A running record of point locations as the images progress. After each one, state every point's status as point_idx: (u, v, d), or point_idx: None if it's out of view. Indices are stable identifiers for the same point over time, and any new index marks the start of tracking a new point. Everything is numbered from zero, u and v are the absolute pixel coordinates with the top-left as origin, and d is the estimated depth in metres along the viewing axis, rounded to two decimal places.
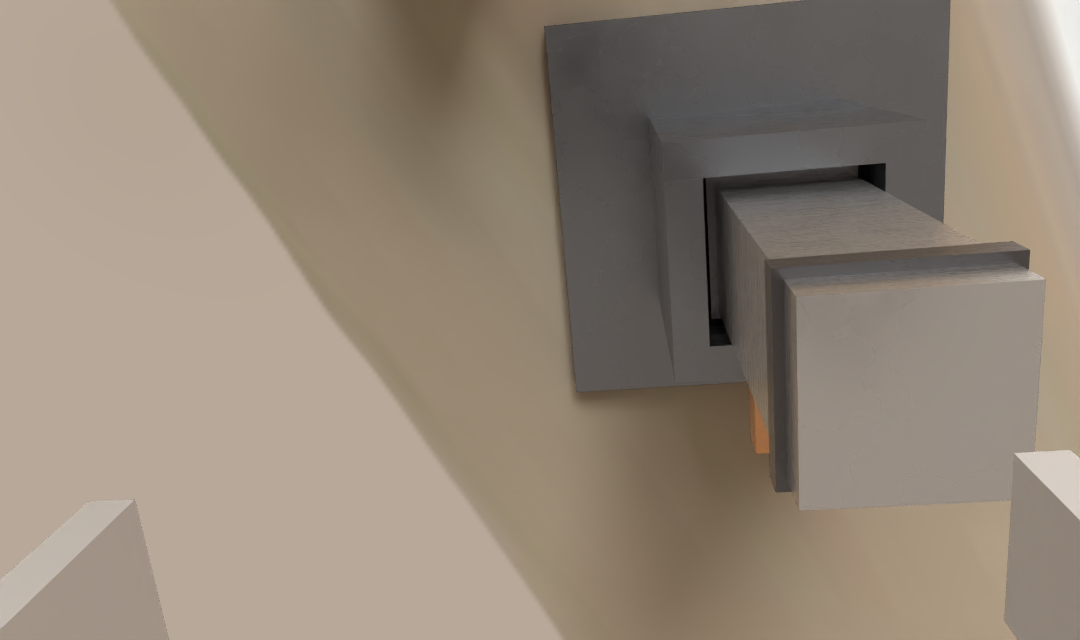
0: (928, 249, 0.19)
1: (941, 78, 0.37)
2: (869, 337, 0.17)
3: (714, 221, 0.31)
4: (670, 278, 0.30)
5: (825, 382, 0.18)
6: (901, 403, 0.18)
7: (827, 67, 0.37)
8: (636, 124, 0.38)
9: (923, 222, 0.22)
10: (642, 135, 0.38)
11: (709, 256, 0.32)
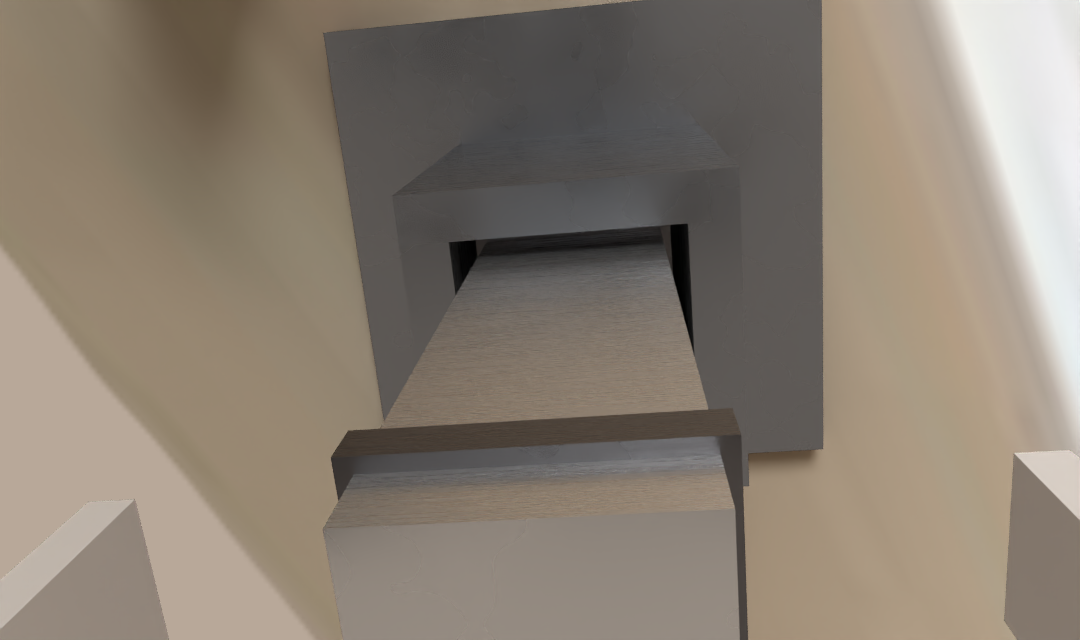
0: (596, 421, 0.12)
1: (813, 97, 0.30)
2: (452, 594, 0.10)
3: None
4: None
5: None
6: None
7: (673, 83, 0.30)
8: (443, 153, 0.31)
9: (666, 339, 0.15)
10: None
11: None
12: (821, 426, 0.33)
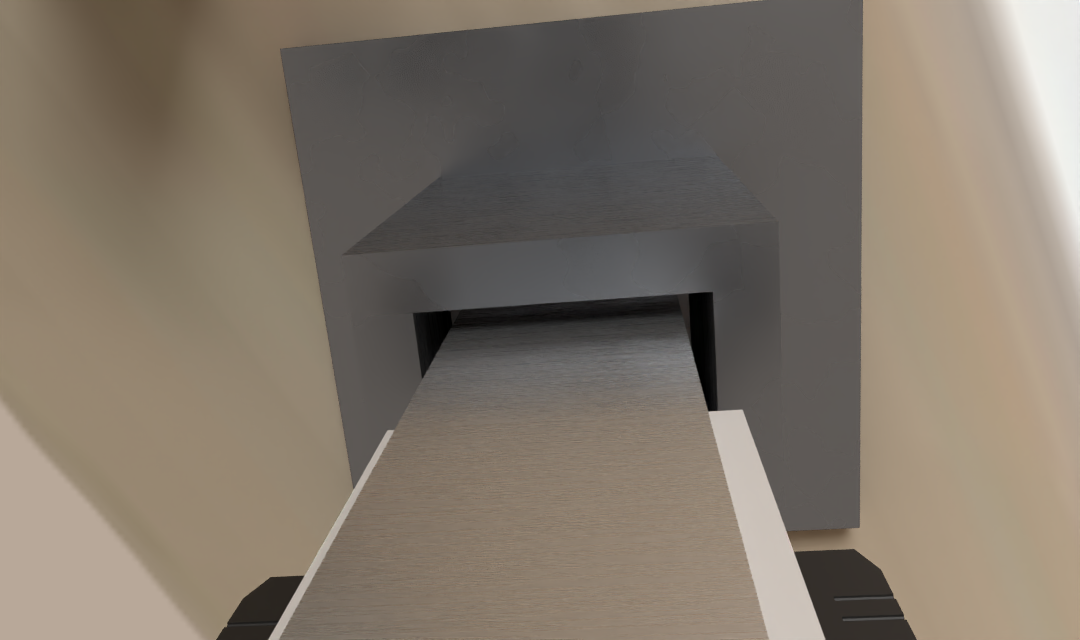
0: None
1: (852, 125, 0.25)
2: None
3: None
4: None
5: None
6: None
7: (688, 108, 0.26)
8: (420, 188, 0.27)
9: (694, 486, 0.11)
10: None
11: None
12: (857, 502, 0.29)
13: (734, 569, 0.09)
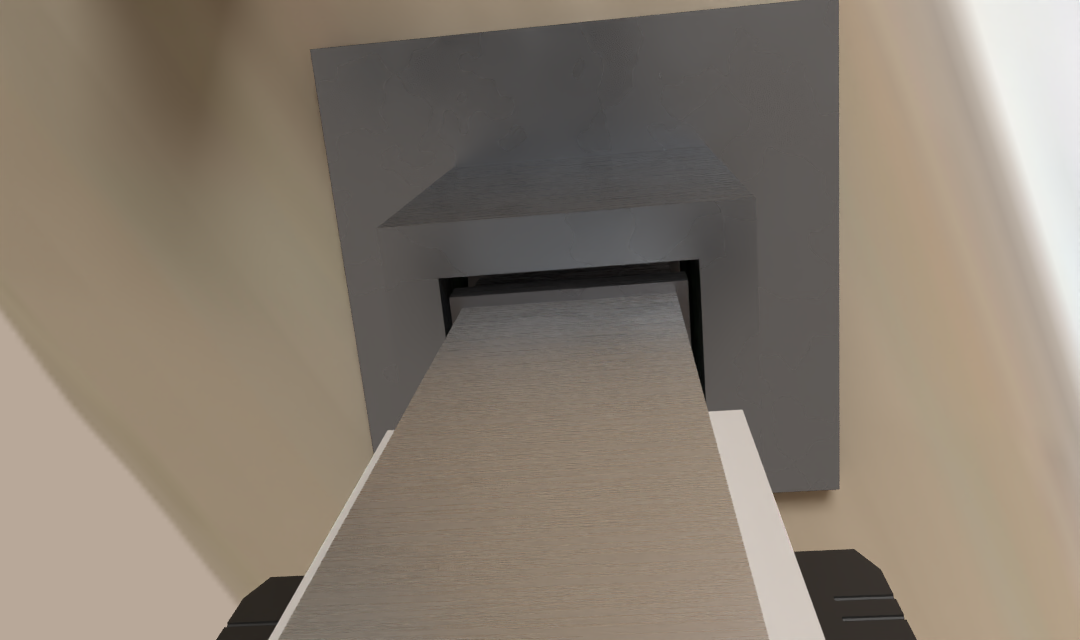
0: None
1: (830, 118, 0.28)
2: None
3: None
4: None
5: None
6: None
7: (681, 103, 0.28)
8: (437, 176, 0.29)
9: (694, 485, 0.11)
10: None
11: None
12: (837, 465, 0.31)
13: (734, 567, 0.09)
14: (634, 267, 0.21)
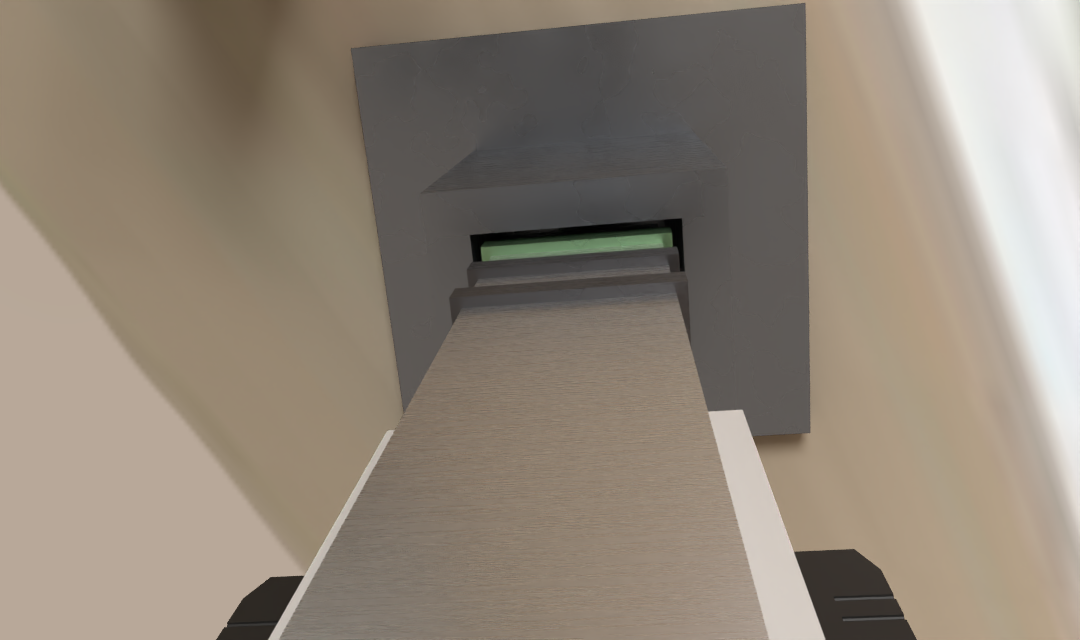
0: None
1: (799, 107, 0.32)
2: None
3: None
4: None
5: None
6: None
7: (671, 94, 0.33)
8: (460, 158, 0.34)
9: (695, 486, 0.11)
10: None
11: None
12: (808, 411, 0.36)
13: (734, 569, 0.09)
14: (633, 268, 0.21)
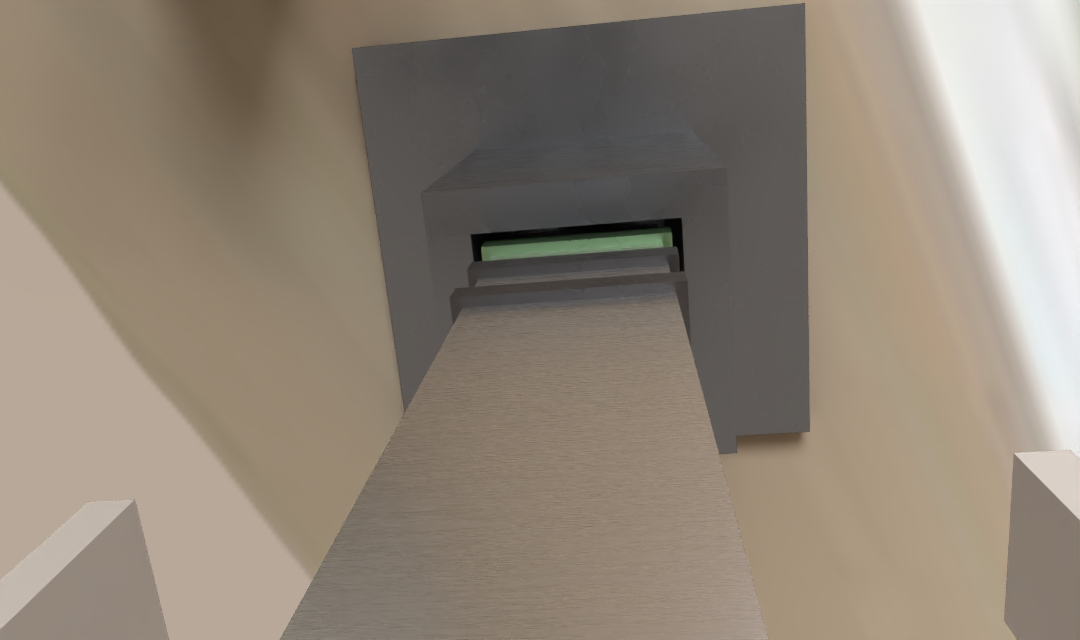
0: None
1: (798, 107, 0.33)
2: None
3: None
4: None
5: None
6: None
7: (671, 94, 0.33)
8: (460, 158, 0.34)
9: (694, 485, 0.11)
10: None
11: None
12: (807, 410, 0.36)
13: (733, 567, 0.09)
14: (633, 267, 0.21)
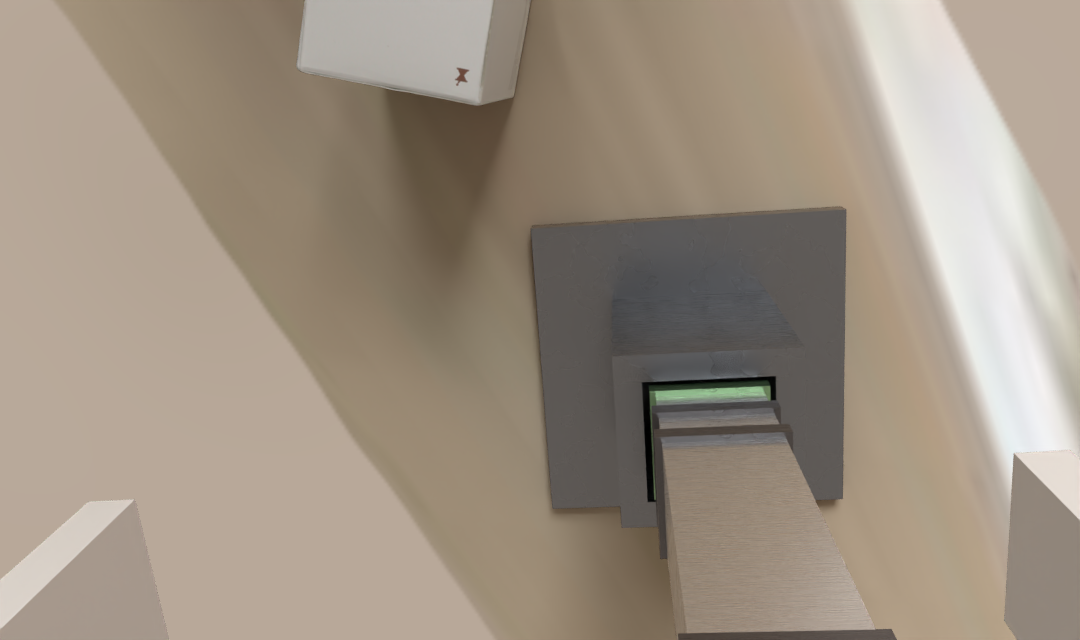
0: (818, 634, 0.22)
1: (840, 277, 0.47)
2: None
3: (662, 475, 0.34)
4: (618, 452, 0.40)
5: None
6: None
7: (752, 266, 0.47)
8: (602, 304, 0.48)
9: (829, 560, 0.25)
10: (607, 312, 0.49)
11: (658, 504, 0.35)
12: (841, 484, 0.50)
13: (854, 596, 0.23)
14: (753, 414, 0.36)
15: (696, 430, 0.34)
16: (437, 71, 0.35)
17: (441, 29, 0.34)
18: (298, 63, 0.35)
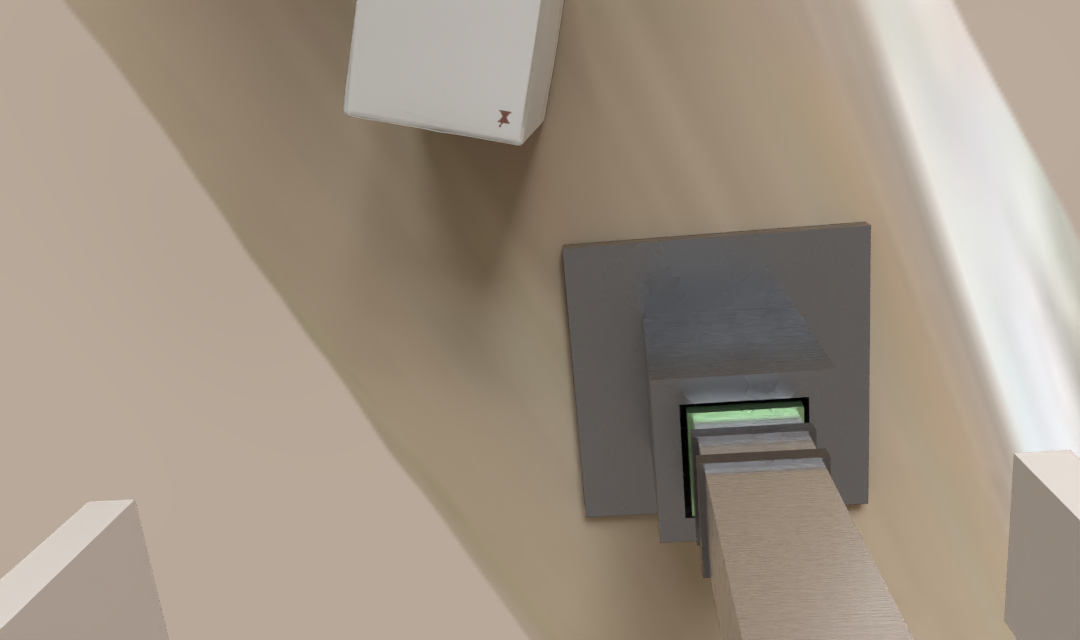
0: None
1: (865, 291, 0.48)
2: None
3: (705, 499, 0.36)
4: (656, 471, 0.41)
5: None
6: None
7: (778, 281, 0.49)
8: (632, 320, 0.50)
9: (876, 593, 0.27)
10: (637, 328, 0.50)
11: (701, 526, 0.36)
12: (867, 489, 0.52)
13: (903, 631, 0.25)
14: (789, 437, 0.37)
15: (737, 456, 0.36)
16: (480, 113, 0.36)
17: (484, 73, 0.35)
18: (345, 107, 0.36)
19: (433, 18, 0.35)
